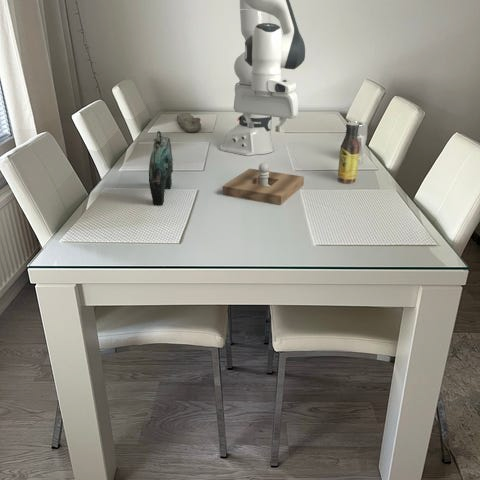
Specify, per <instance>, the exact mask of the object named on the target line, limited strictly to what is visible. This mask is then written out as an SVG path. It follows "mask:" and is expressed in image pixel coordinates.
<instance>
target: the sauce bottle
mask: <svg viewBox="0 0 480 480" xmlns="http://www.w3.org/2000/svg"><path fill="white" fill-rule="evenodd" d="M345 125H346V126H345V128H346V130H345V136H344V139H343V141H342V142H341V145H340V150H339V159H338V170H337V181H338V182H340V183H342V184H353V183H355V182H356V180H357V174H358V166H359V165H358V159H359V148H360V143H359V140H358V139H357V136H358V135H357V134H358V128H359V123H356V122H354V121H348V122H347V123H346V124H345Z"/></svg>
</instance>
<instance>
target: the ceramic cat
mask: <svg viewBox="0 0 480 480" xmlns="http://www.w3.org/2000/svg"><path fill="white" fill-rule="evenodd" d="M173 161H174V159H173V155H172V143H171V139H170V137H168V136H167V137H166V136H162V132H161V131H160V130H157V132H156V137H155V138H153V150H152V152H151V154H150V158H149V165H148V183H149V189H150V195H151V198H152V204H153V206H161V205H162V206H163V205H164V204H163V203H165V192H166V190H171V187H172V186H173V185H172V184H173V179H172V175H173V172H174V170H173V169H174V167H173V166H174V163H173Z"/></svg>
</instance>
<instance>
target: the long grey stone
mask: <svg viewBox="0 0 480 480" xmlns="http://www.w3.org/2000/svg"><path fill="white" fill-rule="evenodd" d="M176 121H177V122H178V125H179V126H180V128H182V130H183V131H184V130H185V132H189V133H194V132H199V131H200V130H201V129H202V123H201V118H200V117H195V116H193V115H191V113H188V112H181V113H179V114H177V116H176Z"/></svg>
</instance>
